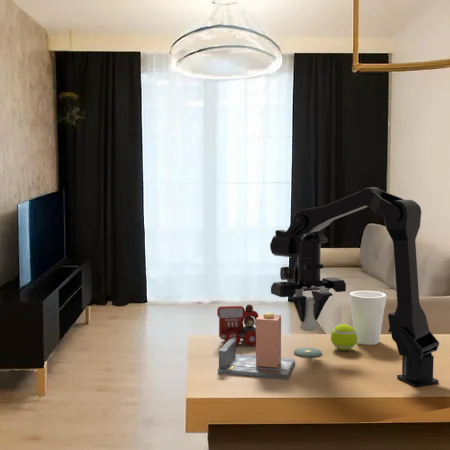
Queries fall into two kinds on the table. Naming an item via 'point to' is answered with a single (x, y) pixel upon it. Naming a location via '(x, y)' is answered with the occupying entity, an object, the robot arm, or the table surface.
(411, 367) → the robot arm
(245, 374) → the rail
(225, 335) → the toy fire truck
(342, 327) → the tennis ball
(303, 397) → the table surface
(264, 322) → the block
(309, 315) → the rook chess piece
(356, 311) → the foam cup
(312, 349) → the round pad
